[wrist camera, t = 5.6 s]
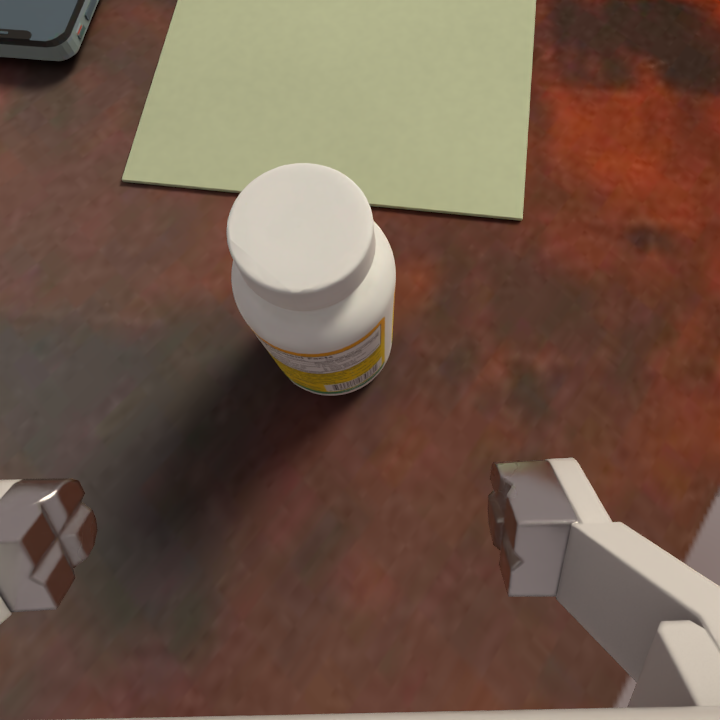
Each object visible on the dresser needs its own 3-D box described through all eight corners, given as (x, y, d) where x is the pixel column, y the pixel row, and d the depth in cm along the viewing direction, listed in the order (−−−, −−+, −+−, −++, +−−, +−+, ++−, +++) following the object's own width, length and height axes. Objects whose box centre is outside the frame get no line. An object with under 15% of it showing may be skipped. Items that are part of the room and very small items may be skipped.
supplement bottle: (365, 416, 21) (351, 351, 12) (254, 371, 22) (162, 278, 13) (410, 307, 23) (428, 175, 14) (304, 269, 24) (252, 118, 14)
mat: (537, -30, 28) (538, -33, 28) (521, 221, 24) (522, 218, 23) (195, -49, 30) (194, -53, 29) (123, 181, 25) (121, 179, 25)
